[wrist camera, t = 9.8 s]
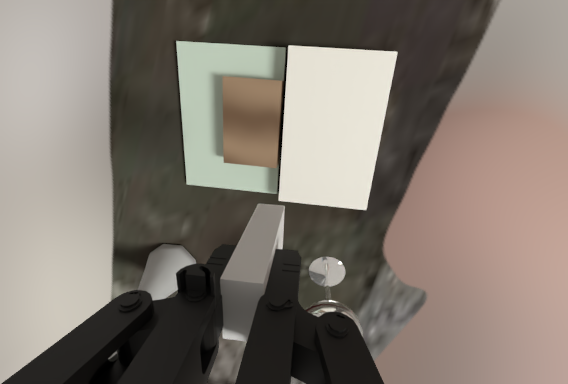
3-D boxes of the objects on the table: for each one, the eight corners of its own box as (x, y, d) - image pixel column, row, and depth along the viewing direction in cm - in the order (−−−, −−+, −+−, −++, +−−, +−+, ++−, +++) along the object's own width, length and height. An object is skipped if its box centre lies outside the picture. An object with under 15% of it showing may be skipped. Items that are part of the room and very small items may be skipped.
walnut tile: (278, 163, 32) (276, 168, 30) (228, 158, 33) (223, 162, 31) (284, 80, 29) (281, 80, 27) (228, 76, 29) (222, 76, 27)
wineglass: (361, 280, 37) (379, 362, 26) (318, 298, 39) (318, 382, 28) (336, 242, 36) (344, 314, 25) (292, 263, 38) (282, 338, 27)
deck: (362, 201, 33) (366, 210, 31) (281, 192, 34) (278, 200, 32) (390, 54, 27) (397, 51, 25) (290, 48, 28) (288, 45, 26)
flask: (206, 278, 41) (173, 336, 31) (164, 286, 42) (121, 344, 33) (186, 237, 38) (144, 286, 29) (142, 247, 40) (90, 297, 31)
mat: (277, 192, 34) (276, 193, 34) (188, 182, 35) (186, 184, 35) (286, 48, 28) (285, 47, 28) (178, 41, 29) (176, 40, 29)
